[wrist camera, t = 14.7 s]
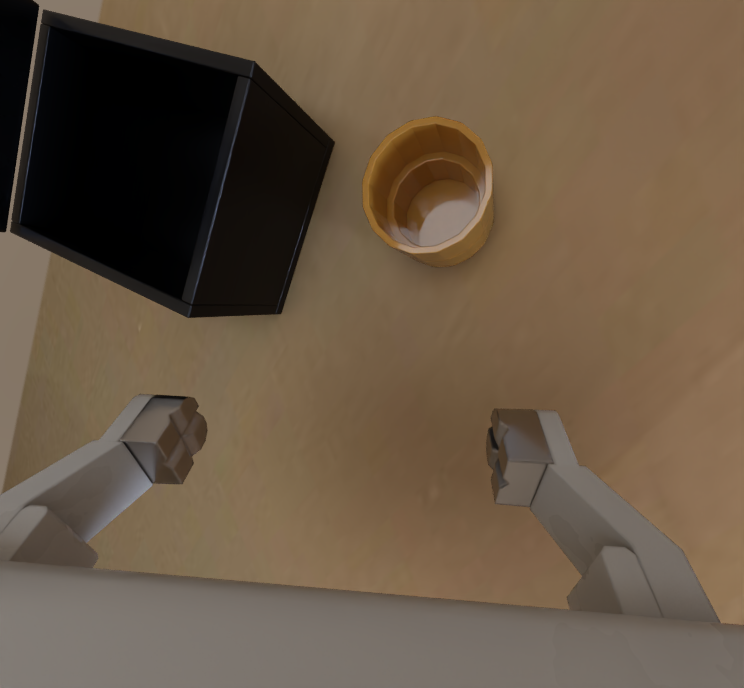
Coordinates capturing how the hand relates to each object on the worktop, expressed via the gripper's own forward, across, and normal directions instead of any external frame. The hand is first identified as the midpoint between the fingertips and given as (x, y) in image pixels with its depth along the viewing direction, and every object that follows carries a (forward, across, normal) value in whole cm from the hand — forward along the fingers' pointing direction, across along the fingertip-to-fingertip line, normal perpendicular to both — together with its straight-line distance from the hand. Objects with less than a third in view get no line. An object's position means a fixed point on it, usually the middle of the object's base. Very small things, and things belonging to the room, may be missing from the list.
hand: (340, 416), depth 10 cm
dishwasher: (+24, +13, +2) cm, 27 cm away
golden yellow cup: (+19, -4, +2) cm, 20 cm away
